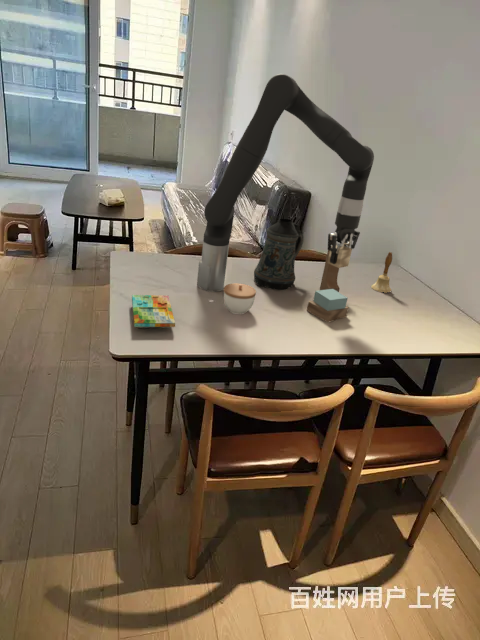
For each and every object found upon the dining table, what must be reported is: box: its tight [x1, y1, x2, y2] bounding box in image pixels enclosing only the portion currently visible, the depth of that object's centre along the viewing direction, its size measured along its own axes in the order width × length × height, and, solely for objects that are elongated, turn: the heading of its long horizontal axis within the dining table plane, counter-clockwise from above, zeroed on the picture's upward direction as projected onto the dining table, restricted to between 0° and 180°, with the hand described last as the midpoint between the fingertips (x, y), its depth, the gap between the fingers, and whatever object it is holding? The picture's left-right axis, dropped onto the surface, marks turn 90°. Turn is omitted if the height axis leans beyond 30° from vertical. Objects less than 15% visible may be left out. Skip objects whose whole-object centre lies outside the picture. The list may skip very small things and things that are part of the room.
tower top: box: [312, 289, 349, 311], centre depth 165 cm, size 8×8×4 cm
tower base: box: [306, 300, 349, 323], centre depth 167 cm, size 10×10×4 cm
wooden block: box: [319, 249, 340, 293], centre depth 181 cm, size 9×4×18 cm, turn 9°
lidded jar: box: [223, 282, 257, 315], centre depth 159 cm, size 11×11×9 cm
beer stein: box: [253, 218, 304, 291], centre depth 185 cm, size 16×19×25 cm
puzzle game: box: [131, 294, 176, 328], centre depth 147 cm, size 12×5×20 cm
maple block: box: [327, 245, 353, 269], centre depth 158 cm, size 5×5×6 cm
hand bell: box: [370, 251, 393, 294], centre depth 194 cm, size 8×8×16 cm
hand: (338, 261), depth 159 cm, fingers closed on maple block, 5 cm apart
